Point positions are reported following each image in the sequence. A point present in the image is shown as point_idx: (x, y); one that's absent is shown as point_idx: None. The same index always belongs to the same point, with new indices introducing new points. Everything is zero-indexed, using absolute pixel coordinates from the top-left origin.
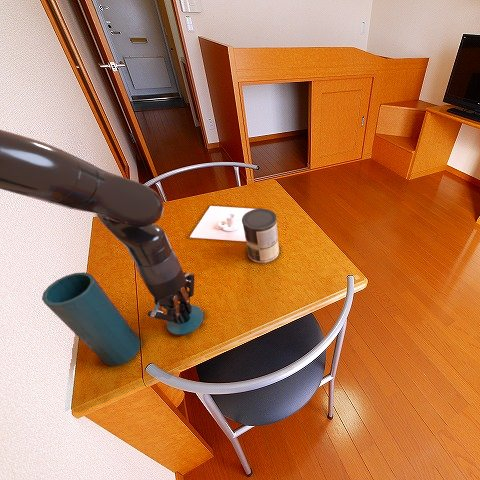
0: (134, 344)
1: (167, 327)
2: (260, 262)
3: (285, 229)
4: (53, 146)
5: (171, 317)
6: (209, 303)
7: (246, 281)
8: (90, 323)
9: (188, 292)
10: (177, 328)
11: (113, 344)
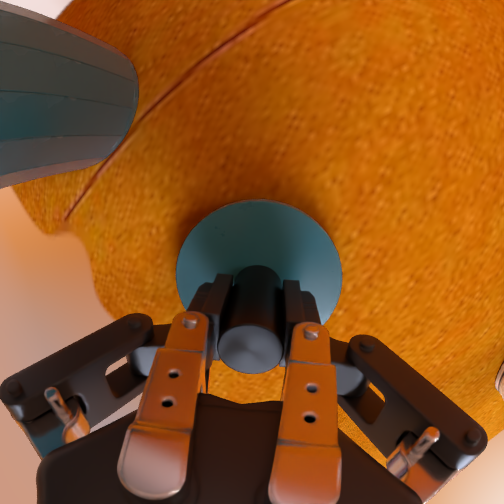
0: (69, 169)
1: (192, 231)
2: (500, 371)
3: None
4: None
5: (141, 386)
6: (365, 318)
7: (448, 375)
8: None
9: (353, 392)
10: (202, 278)
11: None
